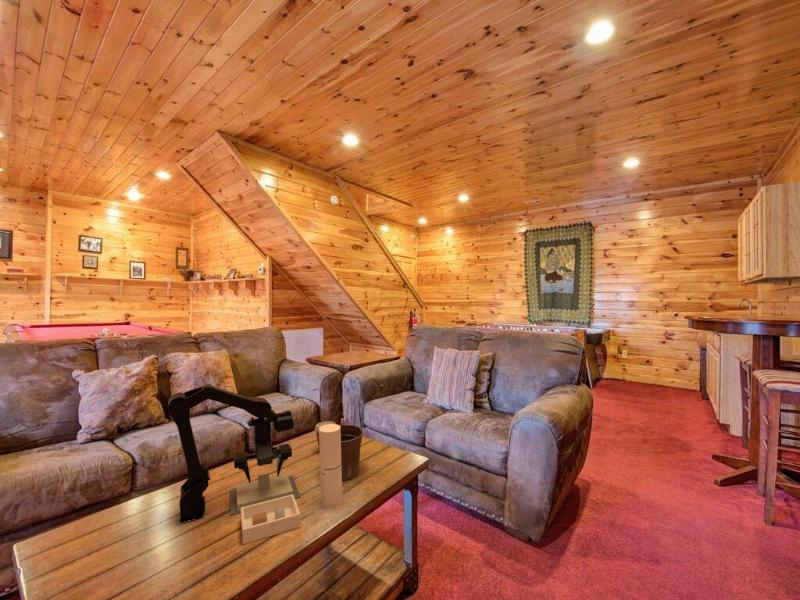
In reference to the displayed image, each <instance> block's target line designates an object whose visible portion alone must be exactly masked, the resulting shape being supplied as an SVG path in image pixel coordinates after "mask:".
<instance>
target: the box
mask: <svg viewBox="0 0 800 600" xmlns="http://www.w3.org/2000/svg"><path fill="white" fill-rule="evenodd" d="M240 523H241V534H242V535H241V537H242V545H245V544H248V543H251V542H255V541H259V540H262V539H265V538H268V537H273V536H275V535H279V534H282V533H285V532H289V531H292V530H296V529H298V528H301V526H302V525H301V513H300V510H299V507H298V504H297V502H296V499H295V498H294V495H293V494H292V495H288V496H284V497H280V498H277V499H273V500H269V501H265V502H261V503H257V504H253V505H249V506H245V507H241V513H240Z"/></svg>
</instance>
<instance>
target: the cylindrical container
mask: <svg viewBox="0 0 800 600" xmlns="http://www.w3.org/2000/svg"><path fill="white" fill-rule="evenodd" d="M339 425H340V424H327V425H323V426H321V427H320V428H319V447H318V453H319V478H320V479H319V480H320V481H319V485H320V490H319V491H320V505H321V506H322V507H326V508H335V507H338V506H339V505H340V504H341V503H342V502H343V481H342V469H341V429H340V426H339Z"/></svg>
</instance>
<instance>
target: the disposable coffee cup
mask: <svg viewBox="0 0 800 600" xmlns="http://www.w3.org/2000/svg"><path fill="white" fill-rule="evenodd" d="M327 424H336V422H335V421H332V420H328V421H327V420H326V421H325V420H324V421H321V422H318V423H316V425H315V427H314V431H315V432H316V433H315V434H316V442H317V446H318V448H319V428H320V427H321V426H323V425H327Z"/></svg>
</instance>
